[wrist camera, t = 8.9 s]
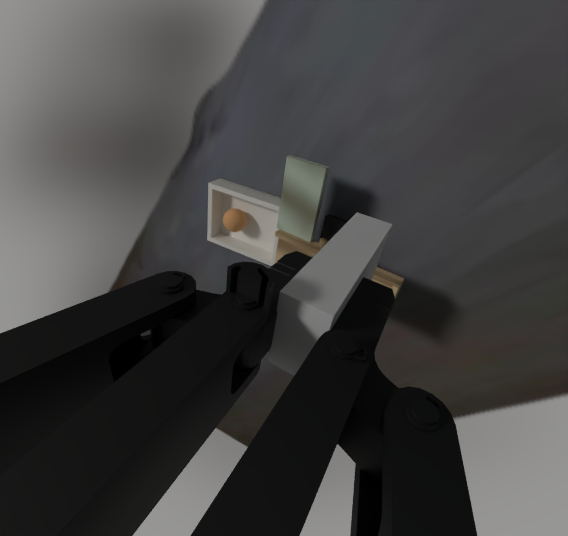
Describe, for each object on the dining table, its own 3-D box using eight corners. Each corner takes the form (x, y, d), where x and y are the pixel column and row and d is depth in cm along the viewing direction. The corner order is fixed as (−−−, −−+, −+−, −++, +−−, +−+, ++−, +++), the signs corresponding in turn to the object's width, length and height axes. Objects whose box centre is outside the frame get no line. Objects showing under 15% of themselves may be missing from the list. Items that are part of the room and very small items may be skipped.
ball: (243, 204, 49) (220, 204, 48) (250, 214, 47) (227, 214, 45) (242, 225, 51) (220, 226, 50) (248, 235, 48) (225, 236, 47)
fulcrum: (327, 214, 43) (313, 226, 39) (355, 223, 42) (343, 237, 38) (314, 269, 48) (300, 285, 44) (339, 279, 47) (327, 296, 43)
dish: (221, 178, 49) (208, 182, 46) (294, 202, 45) (284, 208, 42) (218, 233, 54) (207, 240, 51) (284, 259, 50) (275, 267, 48)
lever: (291, 155, 37) (279, 157, 35) (437, 200, 30) (432, 207, 29) (273, 269, 45) (263, 276, 44) (385, 324, 39) (378, 335, 37)
